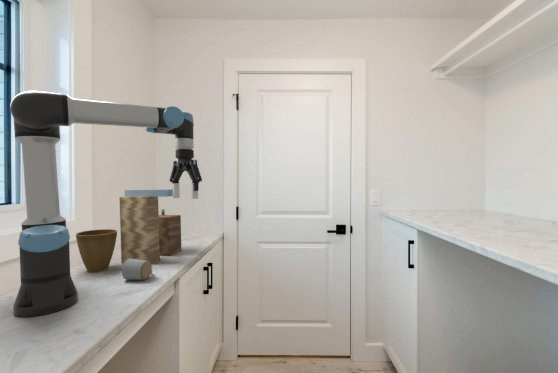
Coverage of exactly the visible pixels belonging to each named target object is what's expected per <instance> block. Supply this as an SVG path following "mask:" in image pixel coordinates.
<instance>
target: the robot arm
mask: <svg viewBox="0 0 558 373" xmlns="http://www.w3.org/2000/svg"><path fill="white" fill-rule="evenodd" d="M9 105H10V107H9V109H10V113H11V115H12V117H13V127H14V128H13V129H14V138H15V140H16V141H18V142H19V143H20V144H21V150H22V151H21V152H22V162H23V165H22V166H23V175H24V176H23V177H24V178H23V180H24V192H25V205H26V219H25V220H23V222H22V223H21V232H20V233H19V235H18V236H19V237H18V238H19V239H18V240H17V242H18V247H19V270H20V286H19V288H18V292H17V294H16V297H15V300H14V303H13V315H15V316H17V317H23V318H25V317H26V318H28V317H38V316H44V315H48V314H53V313H56V312H58V311H61V310H64V309H67V308H68V307H71V306H72V305H74V304H76V303H77V302H78V300H79V292H78V290H77V288H76V285H75V283H74V281H73V278H72V276H71V260H70V259H71V258H70V256H71V255H70V239H71V235H70V233H69V229H68V227H67V219H66V218H65V217H63V216H62V215H61V210H60V209H61V208H60V198H59V197H60V196H59V195H60V193H59V182H58V179H59V178H58V167H57V164H58V163H57V151H56V145H57V144H58V143H59V142H60V141H61V131H60V130H61V129H60V128H61V127H71V125H73V124H78V125H79V124H83V125H84V124H85V125H98V126H100V125H102V126H117V127H135V128H137V127H138V128H144V130H145V131H146V132H148V133H152V134H161V135H162V134H164V135H174V136H175V138H174V139H175V141H174V142H175V143H174V144H175V145H174V146H175V158H176V159H178V160H174V161H173V165H172V169H171V173H170V177H169V182H170V183H172V189H173V196H172V198H173V199H180V195H181V194H180V179H181V177H182V175H183V173H184V172H187V174H188V175H189V178H190V179H191V199H192V200H197V199H199V184H200V182H202V181H203V178H202V176H201V172H200V170H199V166H198V160H197V159H194V157H195V153H194V152H195V151H194V125H195V124H194V117H193V114H192V113H191V112H186V111H183V110H182V109H180V108H179V107H177V106H167V107H159V106H157V107H156V106H151V105H149V106H148V105H147V106H146V105H140V104H139V105H138V104H129V103H121V102H110V101H101V100H100V101H99V100H92V99H91V100H90V99H81V98H73V97H71V96H70V95H69V94H65V93H58V92H48V91H43V90H41V91H40V90H39V91H38V90H27V91H22V92H20V93H18V94H16V95H15V96H14V97H13V98H12V100H11V102H10V104H9Z"/></svg>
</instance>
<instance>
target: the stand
mask: <svg viewBox="0 0 558 373" xmlns="http://www.w3.org/2000/svg"><path fill="white" fill-rule="evenodd" d="M159 212H160V210H159V197H125V196H119V224H120V225H119V226H120V229H119V230H120V254H121V256H120V257H121V264H124V263H125V261H126V260H128V259H139V260H146V261H149V262H150V263H151V265H152V264H154V263H156V262H158V261H160V260H161V256H160V249H159V215H160V214H159Z"/></svg>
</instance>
